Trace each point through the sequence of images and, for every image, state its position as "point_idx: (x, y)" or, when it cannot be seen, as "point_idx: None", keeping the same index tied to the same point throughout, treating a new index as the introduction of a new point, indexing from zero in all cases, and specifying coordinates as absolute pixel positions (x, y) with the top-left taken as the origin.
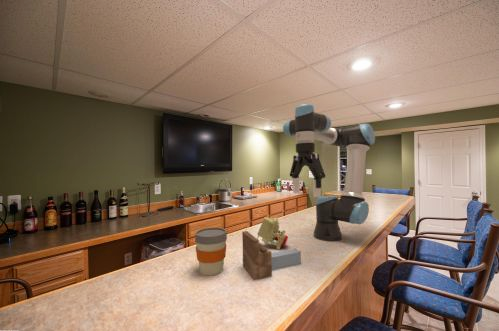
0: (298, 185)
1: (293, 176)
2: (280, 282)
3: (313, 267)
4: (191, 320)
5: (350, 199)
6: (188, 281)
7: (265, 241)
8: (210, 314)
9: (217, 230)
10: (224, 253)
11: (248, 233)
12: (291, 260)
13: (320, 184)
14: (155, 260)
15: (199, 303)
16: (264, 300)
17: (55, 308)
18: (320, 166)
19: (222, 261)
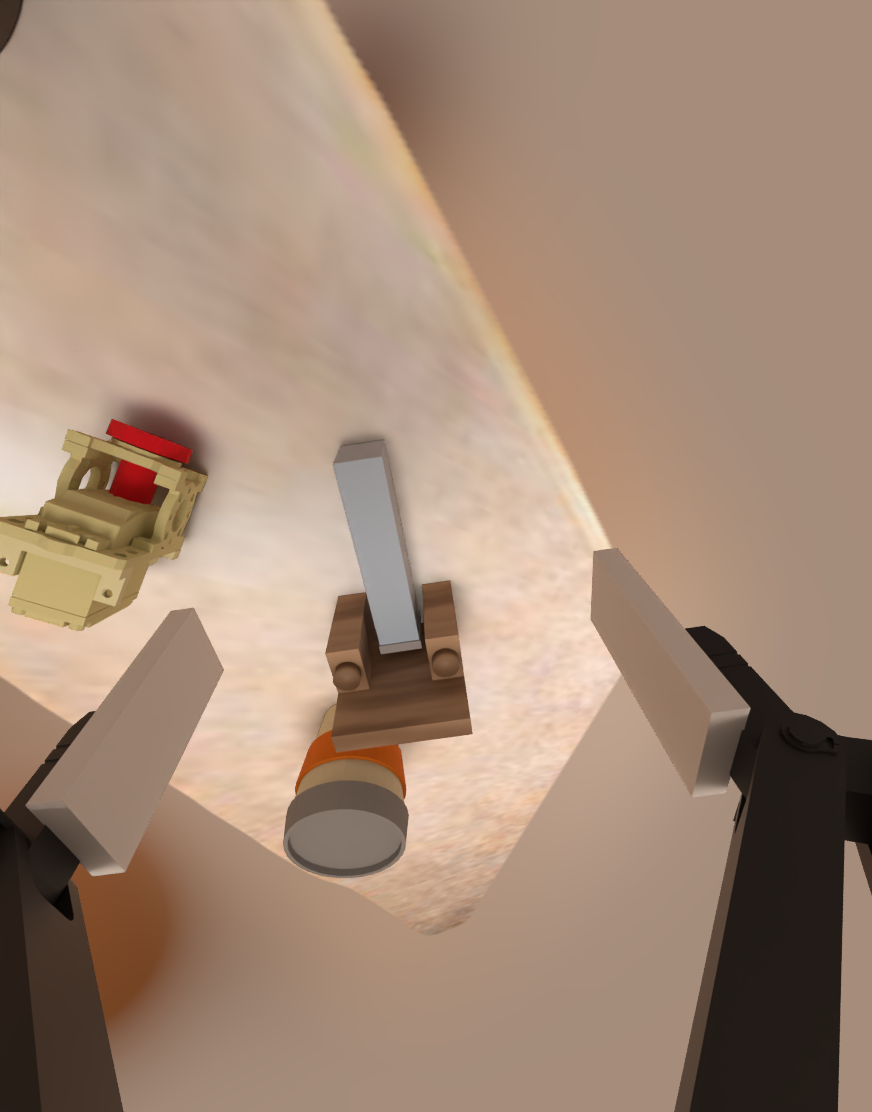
0: (151, 694)
1: (71, 911)
2: (495, 567)
3: (432, 402)
4: (558, 751)
5: None
6: (410, 765)
7: (176, 554)
8: (556, 726)
9: (307, 823)
10: None
11: (370, 736)
12: (393, 496)
13: (742, 670)
14: (265, 836)
15: (511, 742)
16: (559, 629)
17: (441, 901)
18: None
19: None
